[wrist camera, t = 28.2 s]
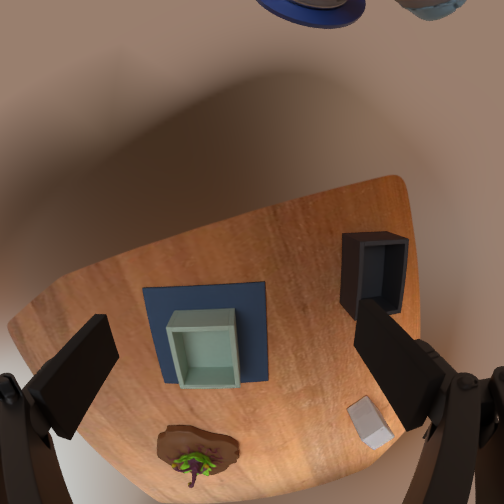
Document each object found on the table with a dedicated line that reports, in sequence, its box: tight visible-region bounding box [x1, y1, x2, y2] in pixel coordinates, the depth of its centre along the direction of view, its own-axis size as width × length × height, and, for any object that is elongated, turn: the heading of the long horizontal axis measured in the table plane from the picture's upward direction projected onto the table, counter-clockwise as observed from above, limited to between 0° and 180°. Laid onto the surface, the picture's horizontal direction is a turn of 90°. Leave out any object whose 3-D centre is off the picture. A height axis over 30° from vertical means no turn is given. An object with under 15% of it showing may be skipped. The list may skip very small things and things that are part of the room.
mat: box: [142, 282, 268, 384], centre depth 45 cm, size 20×20×1 cm
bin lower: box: [340, 231, 409, 321], centre depth 40 cm, size 12×8×7 cm
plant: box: [157, 425, 239, 488], centre depth 47 cm, size 20×20×11 cm
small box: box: [347, 396, 395, 450], centre depth 46 cm, size 8×6×10 cm
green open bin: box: [166, 308, 240, 389], centre depth 42 cm, size 12×10×6 cm
